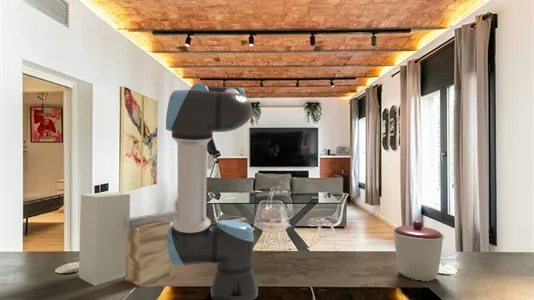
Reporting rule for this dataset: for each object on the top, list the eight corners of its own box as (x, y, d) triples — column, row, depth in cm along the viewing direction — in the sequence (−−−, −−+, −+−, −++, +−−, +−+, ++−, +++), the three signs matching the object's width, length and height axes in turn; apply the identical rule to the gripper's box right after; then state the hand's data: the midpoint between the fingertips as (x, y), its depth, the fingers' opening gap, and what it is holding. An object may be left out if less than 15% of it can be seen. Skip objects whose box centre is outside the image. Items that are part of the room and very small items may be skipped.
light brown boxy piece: (169, 275, 114) (170, 221, 115) (140, 286, 105) (141, 226, 105) (155, 270, 120) (156, 218, 120) (125, 279, 110) (127, 223, 110)
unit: (128, 275, 114) (130, 194, 115) (94, 285, 105) (97, 197, 105) (110, 267, 122) (112, 191, 122) (78, 276, 112) (80, 194, 113)
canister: (452, 288, 107) (452, 227, 107) (397, 283, 110) (397, 224, 111) (435, 269, 124) (435, 217, 125) (388, 266, 128) (388, 215, 128)
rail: (185, 219, 124) (185, 210, 124) (128, 230, 104) (129, 220, 104) (179, 218, 126) (180, 209, 126) (123, 229, 106) (123, 219, 107)
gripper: (214, 124, 147) (213, 168, 147) (170, 118, 127) (169, 170, 127) (225, 123, 143) (224, 169, 142) (182, 117, 123) (181, 170, 122)
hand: (198, 169), depth 135 cm, fingers open, 13 cm apart
